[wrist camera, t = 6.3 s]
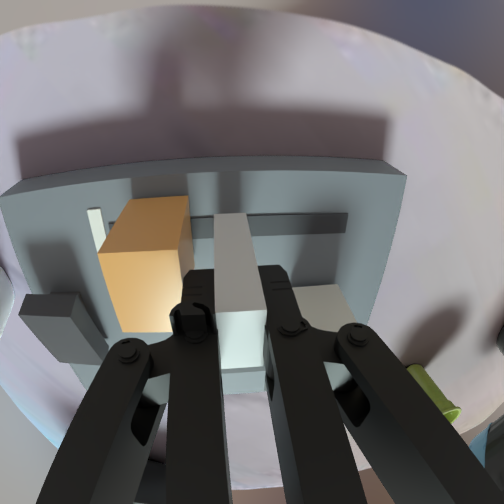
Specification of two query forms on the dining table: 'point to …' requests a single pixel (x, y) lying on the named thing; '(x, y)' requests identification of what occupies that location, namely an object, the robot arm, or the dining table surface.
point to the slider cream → (324, 306)
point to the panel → (202, 227)
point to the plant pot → (434, 393)
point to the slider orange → (148, 261)
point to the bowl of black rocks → (152, 484)
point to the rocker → (64, 328)
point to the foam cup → (5, 299)
